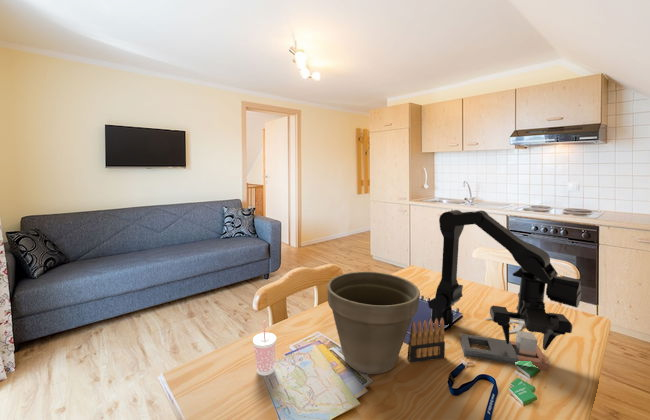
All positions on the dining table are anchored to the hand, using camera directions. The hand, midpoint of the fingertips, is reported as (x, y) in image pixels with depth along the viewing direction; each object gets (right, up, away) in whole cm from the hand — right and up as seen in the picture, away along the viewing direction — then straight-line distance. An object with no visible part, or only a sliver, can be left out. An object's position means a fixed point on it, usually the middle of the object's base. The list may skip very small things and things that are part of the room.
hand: (525, 346), depth 89 cm
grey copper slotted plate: (-6, -3, +2) cm, 7 cm away
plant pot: (-44, -4, 0) cm, 44 cm away
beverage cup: (-73, -4, -5) cm, 74 cm away
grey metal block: (0, -4, 0) cm, 4 cm away
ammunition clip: (-28, -4, 0) cm, 29 cm away
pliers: (+8, -1, +19) cm, 21 cm away
